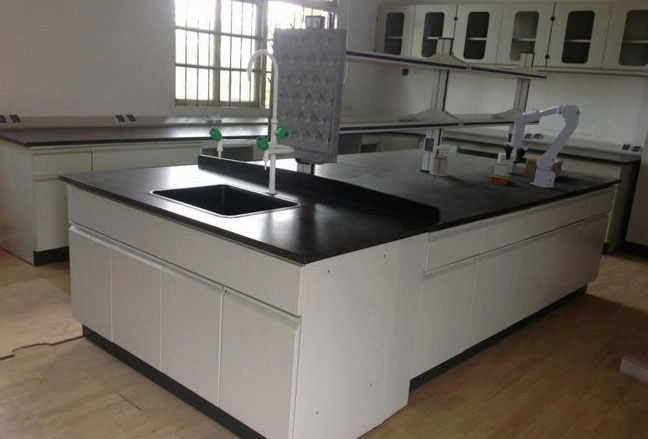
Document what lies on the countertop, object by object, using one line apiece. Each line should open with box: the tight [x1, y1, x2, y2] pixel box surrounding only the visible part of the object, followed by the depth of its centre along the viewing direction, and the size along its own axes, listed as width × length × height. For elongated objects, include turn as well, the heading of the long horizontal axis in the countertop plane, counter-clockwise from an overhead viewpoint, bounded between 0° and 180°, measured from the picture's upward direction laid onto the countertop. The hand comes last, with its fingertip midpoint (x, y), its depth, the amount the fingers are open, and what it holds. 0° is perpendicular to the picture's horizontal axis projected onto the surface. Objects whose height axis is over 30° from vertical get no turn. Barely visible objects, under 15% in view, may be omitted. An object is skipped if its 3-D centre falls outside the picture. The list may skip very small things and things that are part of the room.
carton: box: [489, 172, 510, 186], centre depth 303 cm, size 8×16×4 cm, turn 159°
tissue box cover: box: [523, 155, 564, 179], centre depth 335 cm, size 26×14×10 cm, turn 147°
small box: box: [496, 152, 515, 174], centre depth 336 cm, size 8×6×10 cm
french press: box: [428, 133, 451, 177], centre depth 304 cm, size 10×12×25 cm
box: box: [493, 162, 509, 176], centre depth 302 cm, size 5×5×6 cm
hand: (513, 161), depth 313 cm, fingers open, 7 cm apart
